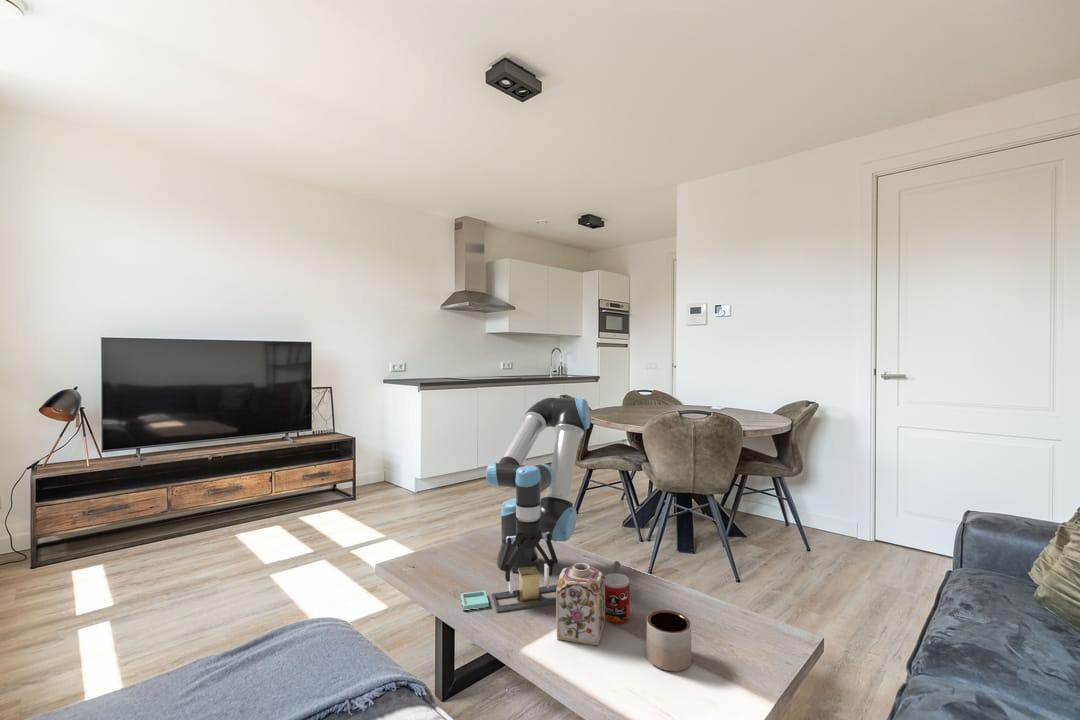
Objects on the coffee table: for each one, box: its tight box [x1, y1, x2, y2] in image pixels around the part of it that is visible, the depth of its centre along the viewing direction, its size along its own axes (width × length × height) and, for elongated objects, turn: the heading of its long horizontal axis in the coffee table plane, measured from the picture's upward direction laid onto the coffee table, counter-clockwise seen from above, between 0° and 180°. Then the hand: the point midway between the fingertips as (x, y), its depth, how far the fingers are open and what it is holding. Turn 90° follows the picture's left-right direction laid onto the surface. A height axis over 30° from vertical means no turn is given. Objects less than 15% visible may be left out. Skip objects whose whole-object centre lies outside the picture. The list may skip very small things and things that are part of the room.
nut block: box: [518, 566, 541, 603], centre depth 150 cm, size 6×6×9 cm
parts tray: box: [460, 590, 490, 610], centre depth 148 cm, size 8×8×2 cm
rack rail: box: [490, 584, 557, 613], centre depth 150 cm, size 22×9×1 cm, turn 105°
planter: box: [645, 609, 693, 672], centre depth 121 cm, size 11×11×10 cm
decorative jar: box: [555, 562, 606, 646], centre depth 133 cm, size 12×12×18 cm
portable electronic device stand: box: [608, 560, 621, 574], centre depth 154 cm, size 9×8×8 cm
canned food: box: [604, 573, 630, 625], centre depth 140 cm, size 8×8×11 cm
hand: (528, 588), depth 150 cm, fingers open, 11 cm apart
